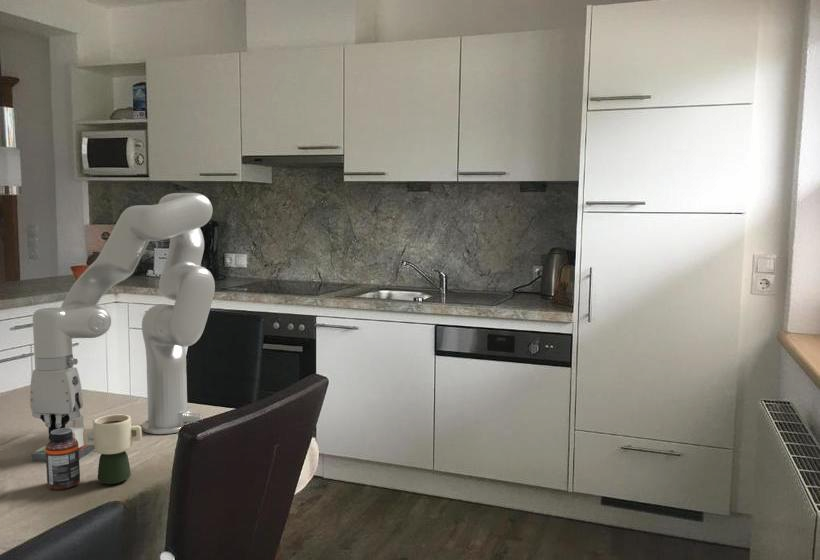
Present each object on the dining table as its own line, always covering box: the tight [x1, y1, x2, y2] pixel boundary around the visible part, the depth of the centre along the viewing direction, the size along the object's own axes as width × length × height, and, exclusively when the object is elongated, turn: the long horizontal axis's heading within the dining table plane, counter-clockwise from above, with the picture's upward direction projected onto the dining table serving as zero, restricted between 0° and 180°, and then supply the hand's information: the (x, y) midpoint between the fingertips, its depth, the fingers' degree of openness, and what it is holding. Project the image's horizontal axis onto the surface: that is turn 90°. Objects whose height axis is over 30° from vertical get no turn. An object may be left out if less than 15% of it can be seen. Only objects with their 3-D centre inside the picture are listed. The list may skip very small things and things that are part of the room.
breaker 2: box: [69, 414, 85, 430], centre depth 162 cm, size 3×3×4 cm
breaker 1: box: [65, 421, 73, 428], centre depth 158 cm, size 3×3×4 cm
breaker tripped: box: [71, 427, 85, 448], centre depth 153 cm, size 3×3×4 cm
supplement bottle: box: [45, 428, 81, 491], centre depth 136 cm, size 6×6×11 cm
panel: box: [30, 434, 95, 462], centre depth 158 cm, size 10×16×2 cm, turn 176°
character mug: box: [83, 413, 143, 485], centre depth 138 cm, size 11×7×13 cm, turn 108°
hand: (57, 442), depth 153 cm, fingers closed
